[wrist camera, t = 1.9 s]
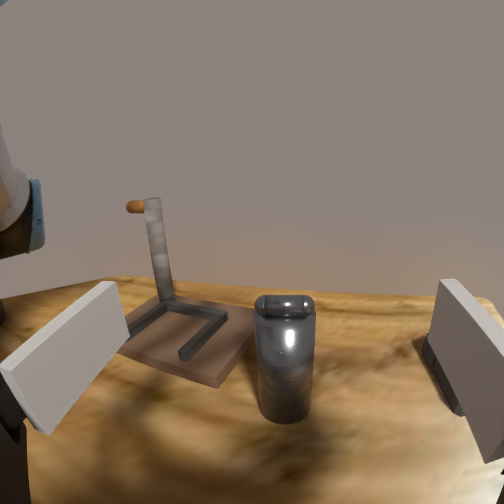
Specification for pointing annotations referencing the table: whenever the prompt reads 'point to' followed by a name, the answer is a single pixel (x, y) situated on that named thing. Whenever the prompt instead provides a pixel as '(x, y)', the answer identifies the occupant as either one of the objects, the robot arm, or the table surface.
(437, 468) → the table surface
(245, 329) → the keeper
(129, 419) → the table surface
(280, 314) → the grey metal canister
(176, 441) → the table surface
